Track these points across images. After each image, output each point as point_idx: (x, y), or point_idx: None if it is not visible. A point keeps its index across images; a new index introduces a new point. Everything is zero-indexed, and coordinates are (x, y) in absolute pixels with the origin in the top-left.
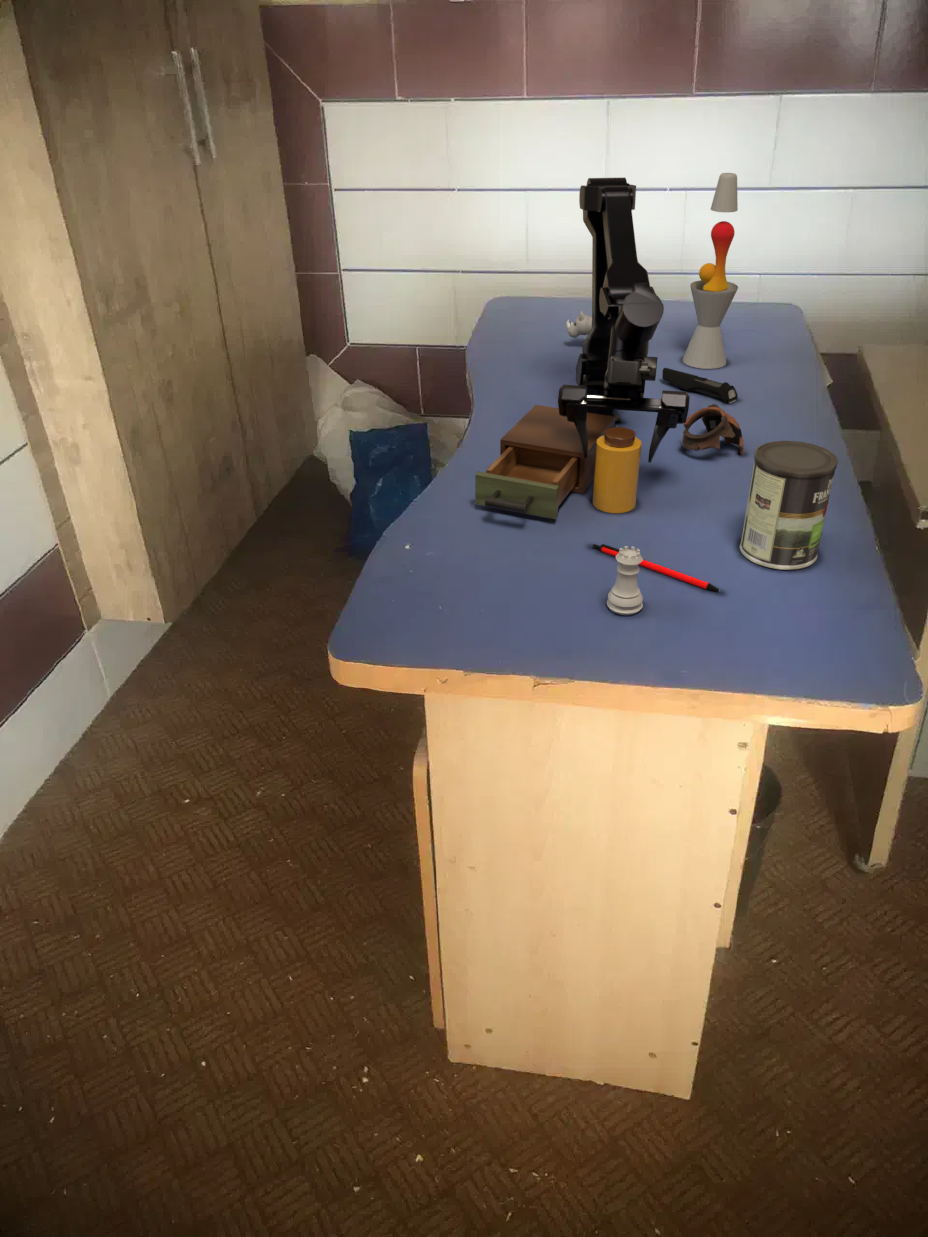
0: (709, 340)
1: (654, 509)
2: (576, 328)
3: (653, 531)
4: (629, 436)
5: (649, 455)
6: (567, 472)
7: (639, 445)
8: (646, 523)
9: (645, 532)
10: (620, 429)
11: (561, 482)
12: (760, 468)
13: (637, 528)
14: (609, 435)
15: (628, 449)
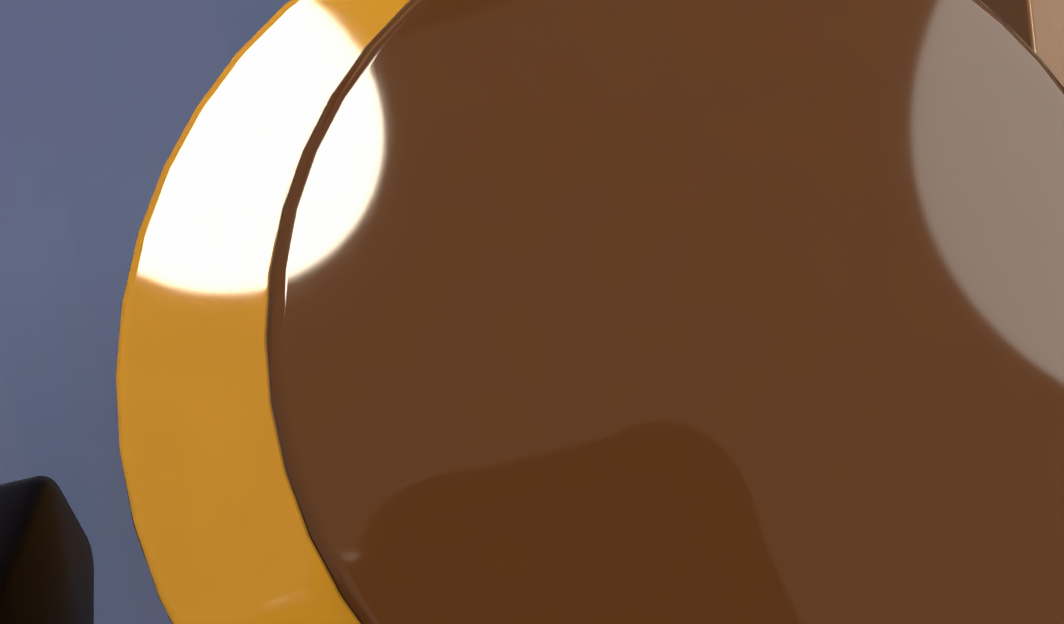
0: None
1: (117, 448)
2: None
3: (47, 50)
4: (403, 140)
5: (11, 514)
6: None
7: (148, 326)
8: (134, 165)
9: (110, 15)
10: (823, 598)
11: (985, 4)
12: None
13: (189, 59)
14: (944, 40)
15: (351, 24)
